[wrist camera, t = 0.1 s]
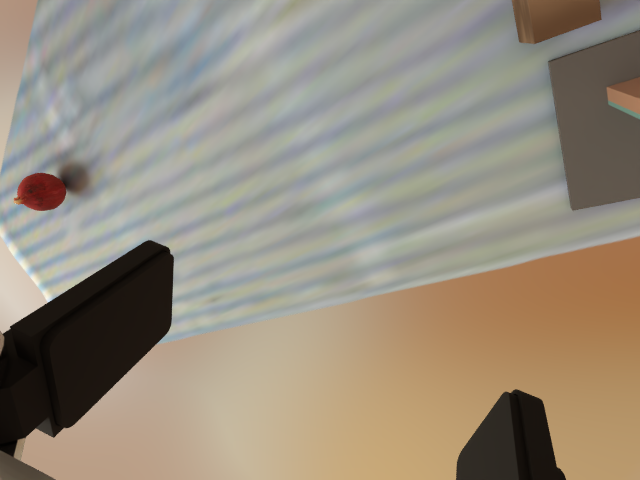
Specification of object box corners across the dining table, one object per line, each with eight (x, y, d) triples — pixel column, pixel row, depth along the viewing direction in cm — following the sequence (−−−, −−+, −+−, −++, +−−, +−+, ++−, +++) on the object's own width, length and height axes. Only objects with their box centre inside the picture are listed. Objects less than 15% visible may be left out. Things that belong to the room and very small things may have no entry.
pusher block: (511, -4, 35) (524, -18, 27) (562, -26, 34) (594, -47, 25) (519, 42, 37) (535, 43, 28) (568, 24, 35) (601, 19, 26)
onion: (59, 160, 62) (9, 175, 55) (83, 190, 63) (38, 208, 57) (43, 178, 65) (-6, 194, 58) (67, 206, 66) (22, 225, 59)
